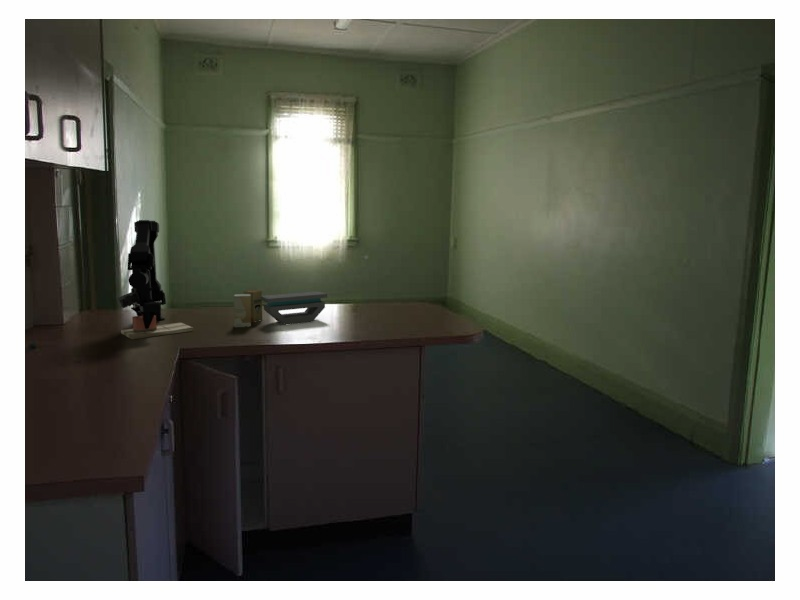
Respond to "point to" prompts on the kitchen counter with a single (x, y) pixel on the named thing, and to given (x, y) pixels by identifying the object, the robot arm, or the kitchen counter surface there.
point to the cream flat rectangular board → (158, 331)
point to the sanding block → (139, 324)
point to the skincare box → (242, 310)
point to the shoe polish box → (255, 304)
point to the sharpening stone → (295, 306)
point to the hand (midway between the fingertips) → (144, 327)
